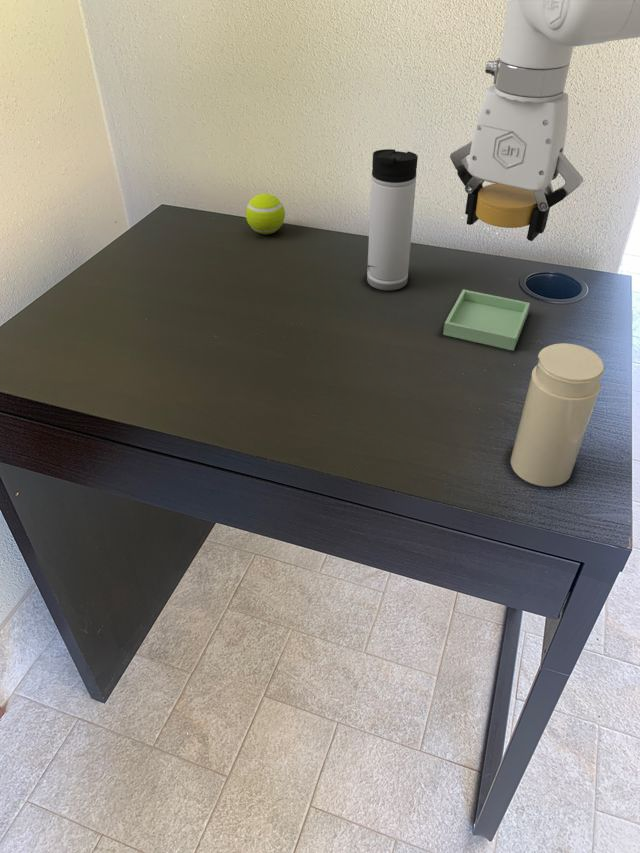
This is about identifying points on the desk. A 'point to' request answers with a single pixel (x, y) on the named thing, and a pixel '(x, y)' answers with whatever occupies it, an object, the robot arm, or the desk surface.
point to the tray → (487, 319)
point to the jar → (556, 413)
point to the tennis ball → (265, 213)
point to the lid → (505, 206)
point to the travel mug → (391, 218)
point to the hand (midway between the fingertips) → (503, 227)
